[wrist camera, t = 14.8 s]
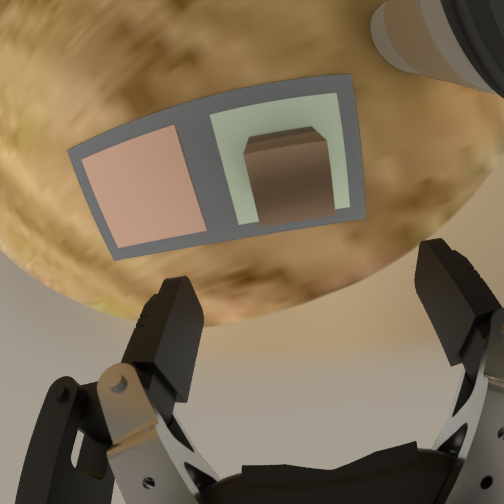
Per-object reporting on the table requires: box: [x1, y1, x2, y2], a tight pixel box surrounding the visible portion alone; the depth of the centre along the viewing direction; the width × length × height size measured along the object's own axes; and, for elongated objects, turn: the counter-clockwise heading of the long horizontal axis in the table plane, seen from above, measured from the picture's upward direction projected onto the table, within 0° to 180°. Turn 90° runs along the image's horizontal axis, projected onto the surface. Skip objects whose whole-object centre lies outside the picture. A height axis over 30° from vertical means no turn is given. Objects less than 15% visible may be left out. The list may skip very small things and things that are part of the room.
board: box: [67, 74, 365, 261], centre depth 23 cm, size 13×26×1 cm, turn 102°
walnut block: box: [243, 126, 336, 228], centre depth 20 cm, size 5×5×6 cm
